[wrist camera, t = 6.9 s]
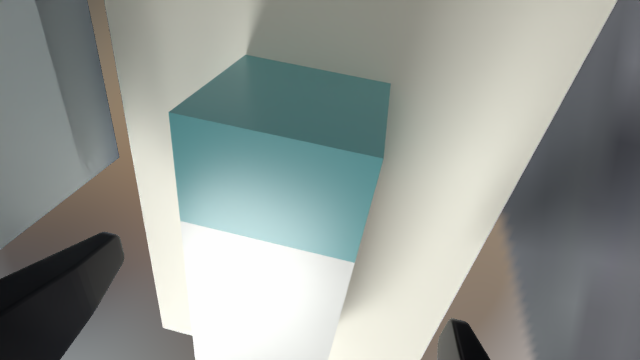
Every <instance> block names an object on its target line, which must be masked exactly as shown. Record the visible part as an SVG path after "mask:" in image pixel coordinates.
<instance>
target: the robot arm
mask: <svg viewBox="0 0 640 360" xmlns="http://www.w3.org/2000/svg"><path fill="white" fill-rule="evenodd" d="M123 261H124V252H123V248H122V244H121V240H120V237H119V236H118V235H116V234H112V233H108V232H102V233H99V234H97V235H95V236H93V237H90V238H88V239H86V240H84V241H82V242H79V243H78V244H75V245H73V246H71V247H69V248H67V249H64V250H62V251H60V252H58V253H56V254H53V255H51V256H49V257H47V258H45V259H43V260H41V261H38V262H36V263H34V264H32V265H30V266H28V267H25V268H23V269H21V270H19V271H17V272H14V273H12V274H10V275H8V276H6V277H4V278H1V279H0V360H60V359H61V358H62V356H63V355H64V354H65V352H66V351H67V349H68V348H69V347H70V345H71V344H72V343H73V341H74V340H75V338H76V337H77V335H78V334H79V333H80V331H81V330H82V329H83V327H84V326H85V324H86V323H87V322H88V320H89V319H90V317H91V316H92V315H93V313H94V311H95V310H96V308H97V307H98V305H99V303H100V302H101V300H102V298H103V296H104V295H105V293H106V291H107V290H108V288H109V286H110V284H111V283H112V281H113V279H114V278H115V276H116V274H117V272H118V271H119V269H120V267H121V265H122V263H123ZM437 360H490V358H489V357H488V355H487V353H486V352H485V350H484V349H483V347H482V345H481V344H480V342H479V340H478V339H477V337H476V335H475V334H474V332H473V331H472V329H471V327H470V326H469V324H468V323H466V322H465V321H461V320H457V319H450V320H449V321H448V322H447V324H446V326H445V328H444V329H443V331H442V333H441V335H440V337H439V341H438V356H437Z"/></svg>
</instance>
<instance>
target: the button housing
mask: <svg viewBox="0 0 640 360" xmlns="http://www.w3.org/2000/svg"><path fill="white" fill-rule="evenodd" d="M118 158H119V153H118V148H117V143H116V139H115V134H114V129H113V124H112V119H111V114H110V109H109V104H108V99H107V95H106V90H105V85H104V80H103V76H102V70H101V65H100V60H99V55H98V51H97V45H96V41H95V35H94V31H93V26H92V21H91V16H90V11H89V6H88V2H87V0H0V249H2V248H3V247H4V246H6V245H7V244H8V243H9V242H11V241H12V240H13V239H15V238H16V237H17V236H18V235H20V234H21V233H22V232H24V231H25V230H26V229H27V228H29V227H30V226H31V225H33V224H34V223H35V222H36V221H38V220H39V219H40V218H41V217H43V216H44V215H46V214H47V213H48V212H49V211H51V210H52V209H53V208H55V207H56V206H57V205H58V204H60V203H61V202H62V201H63V200H65V199H66V198H67V197H69V196H70V195H71V194H73V193H74V192H75V191H76V190H78V189H79V188H80V187H81V186H83V185H84V184H85V183H87V182H88V181H89V180H90V179H92V178H93V177H95V176H96V175H97V174H98V173H100V172H101V171H102V170H103V169H105V168H106V167H107V166H109V165H110V164H111V163H113V162H114V161H115V160H116V159H118Z"/></svg>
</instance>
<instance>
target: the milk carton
mask: <svg viewBox="0 0 640 360" xmlns="http://www.w3.org/2000/svg"><path fill="white" fill-rule="evenodd" d="M390 86H391V83H386V82H380V81H375V80H370V79H365V78H360V77H355V76H350V75H345V74H340V73H335V72H330V71H325V70H320V69H315V68H310V67H305V66H300V65H295V64H290V63H285V62H280V61H275V60H270V59H265V58H260V57H255V56H250V55H244V56H243V57H242V58H240V59H239V60H238V61H236V62H235V63H234V64H232V65H231V66H230V67H228V68H227V69H226V70H224V71H223V72H222V73H220V74H219V75H218V76H216V77H215V78H214V79H212V80H211V81H210V82H208V83H207V84H206V85H204V86H203V87H202V88H200V89H199V90H198V91H196V92H195V93H194V94H192V95H191V96H189V97H188V98H187V99H185V100H184V101H183V102H181V103H180V104H179V105H177V106H176V107H175V108H173V109H172V110H171V111H169V112H168V113H169V122H170V131H171V140H172V150H173V159H174V168H175V177H176V187H177V196H178V205H179V214H180V224H181V233H182V242H183V251H184V260H185V270H186V279H187V288H188V297H189V307H190V316H191V325H192V334H193V343H194V353H195V360H328V358H329V355H330V351H331V347H332V344H333V340H334V337H335V333H336V329H337V326H338V322H339V318H340V315H341V311H342V308H343V304H344V300H345V297H346V293H347V289H348V286H349V282H350V279H351V275H352V271H353V268H354V264H355V260H356V257H357V253H358V250H359V246H360V242H361V239H362V235H363V232H364V228H365V224H366V221H367V217H368V213H369V210H370V206H371V203H372V199H373V195H374V192H375V188H376V184H377V181H378V177H379V174H380V170H381V166H382V163H383V159H384V149H385V139H386V128H387V118H388V107H389V96H390Z"/></svg>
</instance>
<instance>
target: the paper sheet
mask: <svg viewBox="0 0 640 360" xmlns="http://www.w3.org/2000/svg"><path fill="white" fill-rule="evenodd" d="M616 2H617V0H104V3H105V8H106V14H107V19H108V25H109V31H110V36H111V41H112V47H113V53H114V58H115V63H116V69H117V75H118V81H119V85H120V92H121V97H122V103H123V108H124V114H125V119H126V125H127V130H128V136H129V142H130V147H131V153H132V158H133V163H134V169H135V175H136V180H137V186H138V191H139V197H140V203H141V208H142V214H143V219H144V224H145V230H146V235H147V241H148V247H149V252H150V258H151V263H152V269H153V274H154V280H155V286H156V291H157V296H158V302H159V307H160V313H161V319H162V325H163V328H166V329H170V330H173V331H178V332H181V333H185V334H188V335H192V336H193V334H192V325H191V316H190V307H189V297H188V288H187V279H186V270H185V260H184V251H183V242H182V233H181V224H180V214H179V205H178V196H177V187H176V177H175V168H174V159H173V150H172V140H171V131H170V122H169V113H168V112H169V111H171V110H172V109H173V108H175V107H176V106H177V105H179V104H180V103H181V102H183V101H184V100H185V99H187V98H188V97H189V96H191V95H192V94H194V93H195V92H196V91H198V90H199V89H200V88H202V87H203V86H204V85H206V84H207V83H208V82H210V81H211V80H212V79H214V78H215V77H216V76H218V75H219V74H220V73H222V72H223V71H224V70H226V69H227V68H228V67H230V66H231V65H232V64H234V63H235V62H236V61H238V60H239V59H240V58H242V57H243V56H244V55H250V56H255V57H260V58H265V59H270V60H275V61H280V62H285V63H290V64H295V65H300V66H305V67H310V68H315V69H320V70H325V71H330V72H335V73H340V74H345V75H350V76H355V77H360V78H365V79H370V80H375V81H380V82H386V83H391V86H390V96H389V107H388V118H387V128H386V139H385V149H384V159H383V163H382V166H381V170H380V174H379V177H378V181H377V184H376V188H375V192H374V195H373V199H372V203H371V206H370V210H369V213H368V217H367V221H366V224H365V228H364V232H363V235H362V239H361V242H360V246H359V250H358V253H357V257H356V260H355V264H354V268H353V271H352V275H351V279H350V282H349V286H348V289H347V293H346V297H345V300H344V304H343V308H342V311H341V315H340V318H339V322H338V326H337V329H336V333H335V337H334V340H333V344H332V347H331V351H330V355H329V358H328V360H420V359H421V358H422V356H423V354H424V352H425V350H426V349H427V347H428V345H429V343H430V341H431V339H432V338H433V336H434V334H435V332H436V330H437V328H438V326H439V325H440V323H441V321H442V319H443V318H444V316H445V314H446V312H447V310H448V308H449V307H450V305H451V303H452V301H453V299H454V297H455V296H456V294H457V292H458V290H459V288H460V286H461V285H462V283H463V281H464V279H465V277H466V276H467V273H468V272H469V270H470V268H471V267H472V264H473V263H474V261H475V259H476V257H477V256H478V254H479V252H480V250H481V248H482V246H483V245H484V243H485V241H486V239H487V237H488V236H489V234H490V232H491V230H492V228H493V226H494V225H495V223H496V221H497V219H498V217H499V215H500V214H501V212H502V210H503V208H504V206H505V205H506V203H507V201H508V199H509V197H510V195H511V194H512V192H513V190H514V188H515V186H516V184H517V183H518V181H519V179H520V177H521V175H522V174H523V172H524V170H525V168H526V166H527V164H528V163H529V161H530V159H531V157H532V155H533V154H534V152H535V150H536V148H537V146H538V144H539V143H540V141H541V139H542V137H543V135H544V133H545V132H546V130H547V128H548V126H549V124H550V123H551V121H552V119H553V117H554V115H555V113H556V112H557V110H558V108H559V106H560V104H561V102H562V101H563V99H564V97H565V95H566V93H567V92H568V90H569V88H570V86H571V84H572V82H573V81H574V79H575V77H576V75H577V73H578V71H579V70H580V68H581V66H582V64H583V62H584V61H585V59H586V57H587V55H588V53H589V51H590V50H591V48H592V46H593V44H594V42H595V40H596V39H597V37H598V35H599V33H600V31H601V30H602V28H603V26H604V24H605V22H606V20H607V19H608V17H609V15H610V13H611V11H612V10H613V8H614V6H615V4H616Z"/></svg>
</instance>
